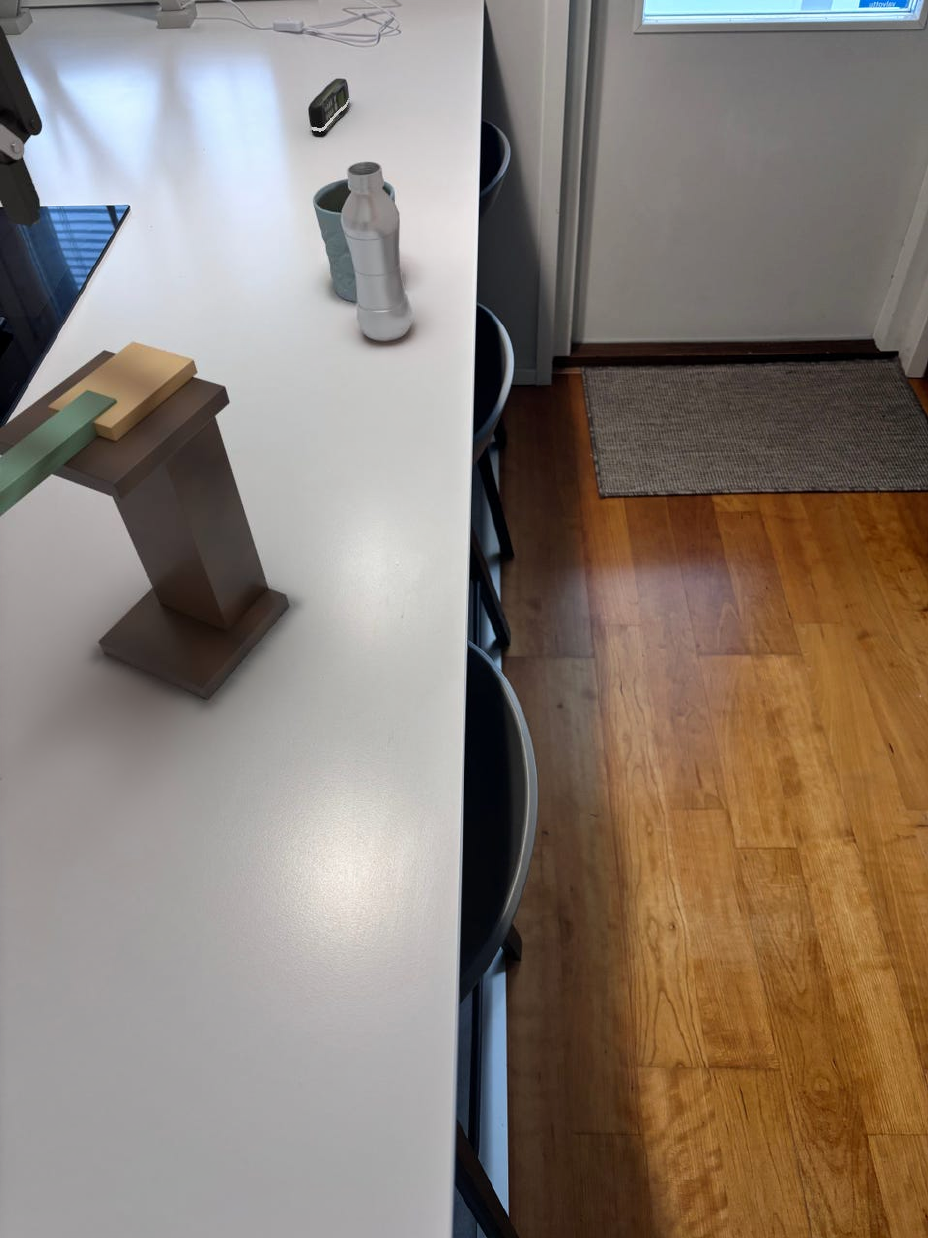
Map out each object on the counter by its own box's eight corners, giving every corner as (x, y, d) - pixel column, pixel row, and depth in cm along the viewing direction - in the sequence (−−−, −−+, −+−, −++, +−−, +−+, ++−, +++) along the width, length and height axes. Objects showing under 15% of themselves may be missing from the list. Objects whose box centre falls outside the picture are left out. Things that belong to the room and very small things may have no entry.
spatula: (-9, 546, 59) (-20, 529, 58) (-74, 519, 62) (-86, 502, 60) (198, 372, 71) (192, 355, 70) (137, 354, 73) (131, 337, 72)
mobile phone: (321, 107, 154) (351, 70, 163) (303, 106, 154) (335, 69, 164) (326, 139, 158) (356, 101, 167) (309, 138, 158) (340, 100, 167)
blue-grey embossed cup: (351, 313, 121) (336, 221, 112) (314, 281, 126) (297, 191, 117) (419, 287, 124) (409, 195, 115) (380, 257, 130) (368, 168, 121)
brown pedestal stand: (208, 699, 81) (114, 483, 63) (103, 652, 85) (-13, 437, 67) (289, 605, 88) (225, 385, 70) (188, 566, 92) (104, 349, 74)
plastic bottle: (413, 346, 115) (394, 179, 100) (357, 349, 115) (330, 183, 100) (414, 317, 119) (396, 153, 104) (361, 320, 119) (335, 157, 104)
